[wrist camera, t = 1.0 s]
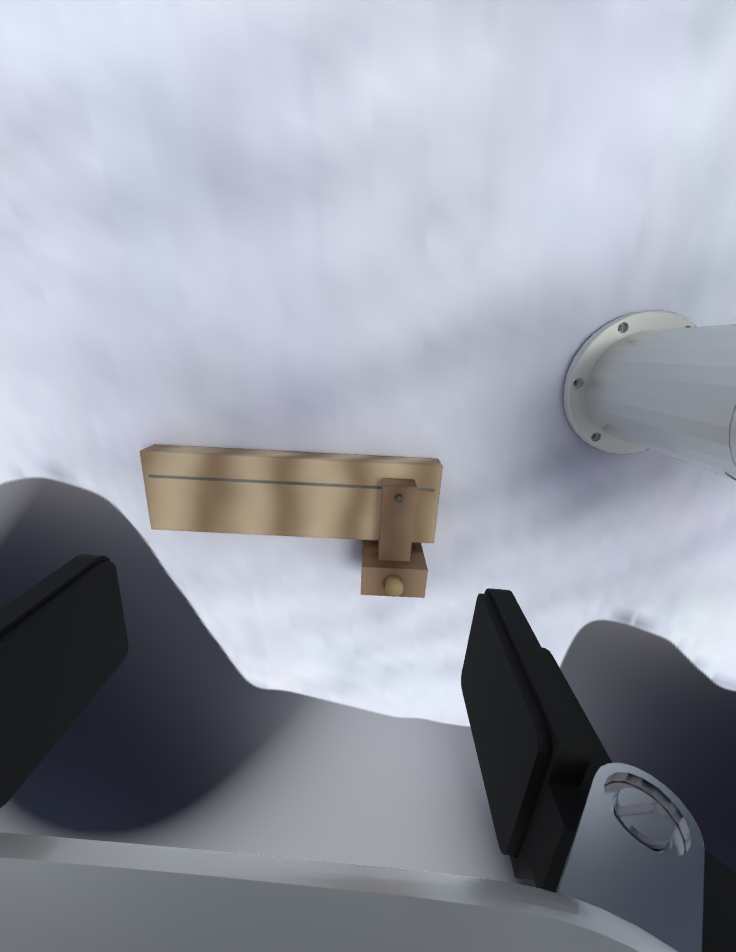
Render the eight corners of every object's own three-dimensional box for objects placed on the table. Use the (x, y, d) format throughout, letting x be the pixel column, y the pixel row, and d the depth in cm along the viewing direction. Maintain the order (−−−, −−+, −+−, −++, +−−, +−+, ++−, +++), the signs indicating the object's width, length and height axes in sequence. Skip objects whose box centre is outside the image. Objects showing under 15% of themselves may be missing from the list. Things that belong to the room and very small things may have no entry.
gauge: (426, 471, 38) (438, 498, 31) (416, 567, 41) (425, 609, 35) (367, 468, 38) (365, 494, 31) (361, 564, 41) (360, 605, 35)
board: (438, 458, 37) (442, 466, 35) (429, 531, 40) (433, 543, 38) (154, 444, 37) (139, 451, 35) (164, 518, 40) (151, 529, 37)
